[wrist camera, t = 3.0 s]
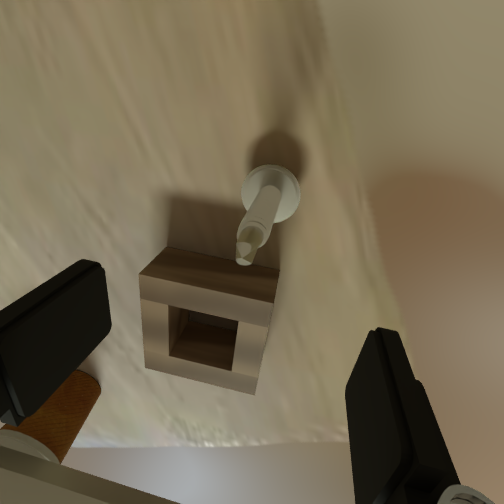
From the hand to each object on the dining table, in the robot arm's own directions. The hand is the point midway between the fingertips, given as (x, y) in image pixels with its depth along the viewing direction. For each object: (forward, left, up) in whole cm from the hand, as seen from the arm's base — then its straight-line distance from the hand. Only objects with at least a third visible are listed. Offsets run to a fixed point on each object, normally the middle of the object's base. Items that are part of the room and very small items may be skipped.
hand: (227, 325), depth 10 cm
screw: (0, 0, -18) cm, 18 cm away
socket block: (+14, -4, -18) cm, 23 cm away
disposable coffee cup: (+35, -24, -18) cm, 46 cm away
